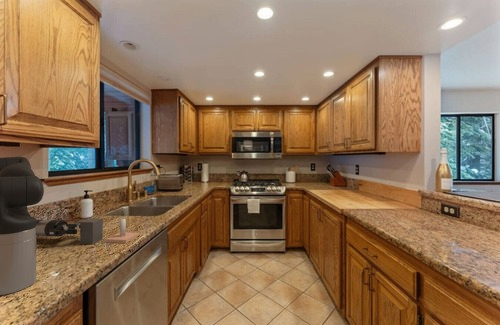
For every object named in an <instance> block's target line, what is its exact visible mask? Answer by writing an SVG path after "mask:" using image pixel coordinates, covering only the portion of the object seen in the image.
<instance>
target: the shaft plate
mask: <svg viewBox="0 0 500 325" xmlns="http://www.w3.org/2000/svg"><path fill="white" fill-rule="evenodd" d="M126 222H127V221H126V218H121V219H119V232H117V233H115V234H113V235H110V236H109V237H107V238H105V239H104V240H105V241H104V242H105V243H108V244H109V243H110V244H114V243H115V244H127V243H129V242H130V241H132V240H134V239H136V238H137V237H139V232H129V231H128V232H127V231H126V228H127V227H126V226H127V225H126Z"/></svg>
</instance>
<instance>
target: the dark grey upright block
mask: <svg viewBox="0 0 500 325" xmlns="http://www.w3.org/2000/svg"><path fill="white" fill-rule="evenodd" d="M103 220H104V219H103V218H89V219H85V220H82V221H79V222H80V229H79V232H80V233H79V245H95V244H96V243H98V242H100V241H102V240H103V238H104V236H103V232H104V229H103V228H104V227H103V226H104V223H103V222H104V221H103Z"/></svg>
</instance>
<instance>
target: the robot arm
mask: <svg viewBox="0 0 500 325" xmlns="http://www.w3.org/2000/svg"><path fill="white" fill-rule="evenodd" d="M30 162H31V161H29V160H28V158H26V157H25V156H7V157H5V156H4V157H0V296H4V295H10V294H14V293H17V292H20V291H22V290H25V289H26V288H28V287H29V288H30V287H31V286H33V285H34V284H35V282H36V281H37V236H41V237H54V238H55V237H58V238H59V237H64V236H68V235H77V234H78V231H80V222H81V221H74V222H69V223H68V222H67V221H66V220H64V219H37V218H36V217H34V216H32V215H31V214H30V212H29V211H28V210H29V209H28V207H30V206H34V205H37V204H39V203H40V202H41V201H42V200H43V197H44V195H45V194H44V193H45V188H44V184H43V182H42V180H41V178H40V177H39V176H36V174H35V172H34V171H33V169H32V165H31V163H30Z"/></svg>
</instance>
